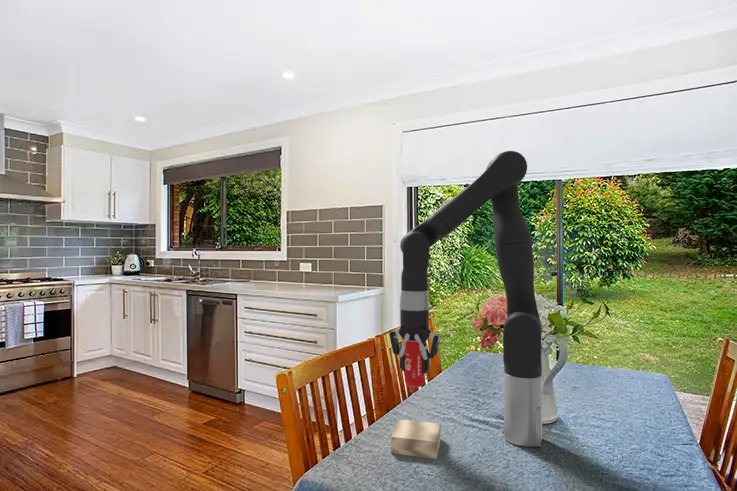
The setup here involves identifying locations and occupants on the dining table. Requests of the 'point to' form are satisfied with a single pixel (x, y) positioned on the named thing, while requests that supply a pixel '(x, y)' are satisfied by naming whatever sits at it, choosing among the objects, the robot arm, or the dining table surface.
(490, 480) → the dining table surface
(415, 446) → the beech block
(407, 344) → the beverage can
